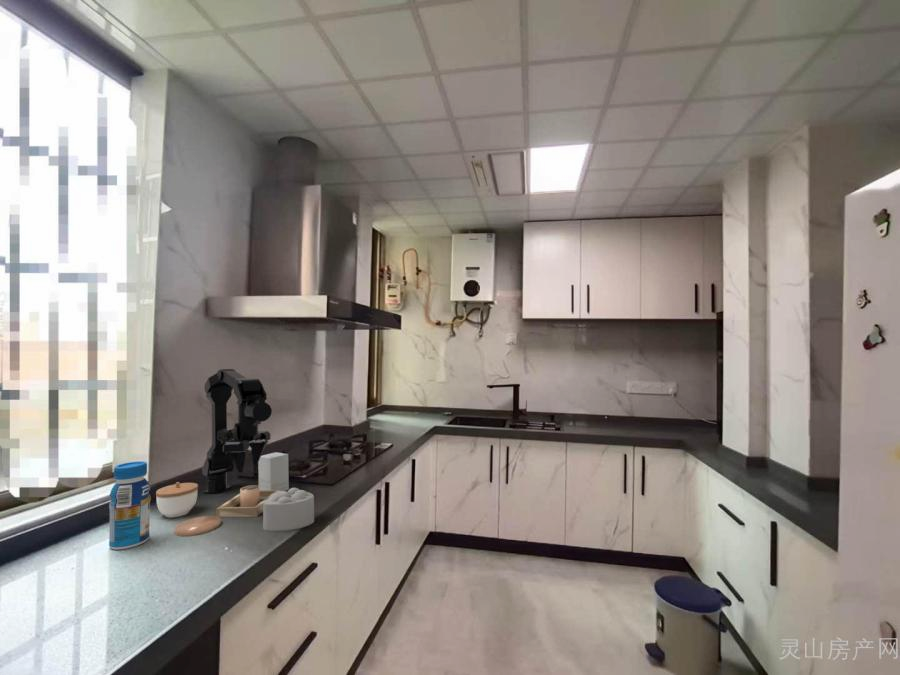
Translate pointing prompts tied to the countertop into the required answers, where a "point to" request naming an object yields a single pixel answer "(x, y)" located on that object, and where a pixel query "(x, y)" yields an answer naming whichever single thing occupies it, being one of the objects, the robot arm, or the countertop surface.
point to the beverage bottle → (129, 506)
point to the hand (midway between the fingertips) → (248, 468)
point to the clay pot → (249, 496)
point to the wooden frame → (232, 511)
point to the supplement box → (273, 472)
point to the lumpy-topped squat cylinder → (288, 510)
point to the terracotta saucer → (197, 525)
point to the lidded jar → (176, 499)
